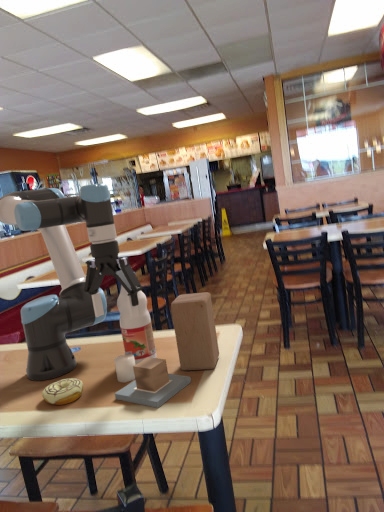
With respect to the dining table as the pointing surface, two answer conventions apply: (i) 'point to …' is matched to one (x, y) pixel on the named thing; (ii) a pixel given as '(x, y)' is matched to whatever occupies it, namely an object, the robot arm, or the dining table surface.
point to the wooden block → (195, 331)
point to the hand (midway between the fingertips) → (116, 316)
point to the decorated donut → (63, 391)
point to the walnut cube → (151, 374)
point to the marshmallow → (125, 367)
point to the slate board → (150, 397)
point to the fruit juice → (136, 328)
